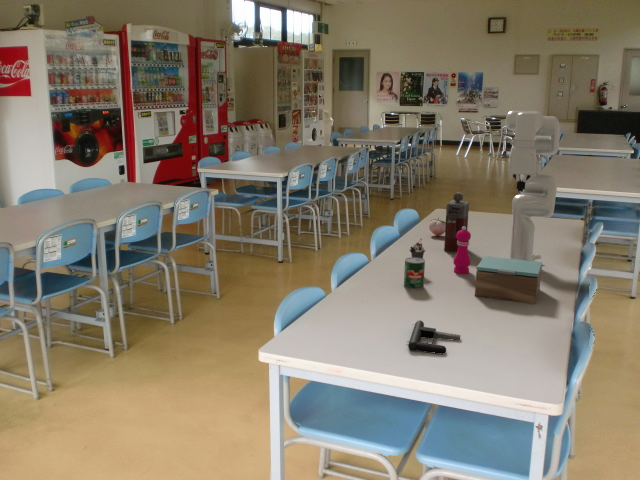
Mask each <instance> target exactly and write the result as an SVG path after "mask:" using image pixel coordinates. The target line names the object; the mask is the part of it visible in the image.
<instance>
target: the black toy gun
mask: <svg viewBox="0 0 640 480" xmlns="http://www.w3.org/2000/svg"><path fill="white" fill-rule="evenodd" d="M412 326H414V327H413V329H412V332H411V333H412V334H411V336H410V339H409V341H408V344H405V345H406V346H408V349H409V350H410V351H411V350H415V351H418V350H419V352H424V351H426V352H425V353H430V352H435V353H434V354H436V353H442V354H441V355H444V354H443V353H445V352H446V353H447V347H446V346H444V345H442V344H441V345H440V344H436V343H435V339H438V338H441V340H447V339H453V340H452V341H456V340H461V336H462V335H461V334H454V333H450V332H449V333H448V332H444V331H443V332H441V331H437V328H433V327H427V326H425V323H424V321H423V320H421V319H420V320H419V319H418V320H416V322H415V324H413V323H412ZM421 337H425V338H424V339H430V338H433V339H432V342H431V343H429V342H428V341H426V342H424V341H423V342H422V341H421ZM446 353H445V354H446Z"/></svg>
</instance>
